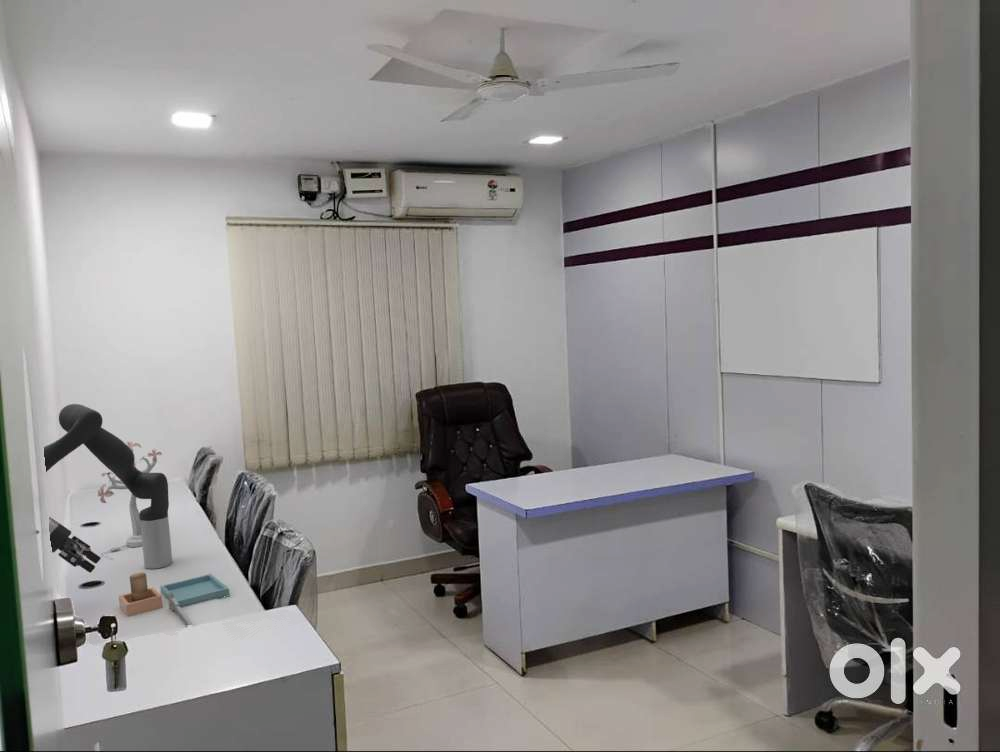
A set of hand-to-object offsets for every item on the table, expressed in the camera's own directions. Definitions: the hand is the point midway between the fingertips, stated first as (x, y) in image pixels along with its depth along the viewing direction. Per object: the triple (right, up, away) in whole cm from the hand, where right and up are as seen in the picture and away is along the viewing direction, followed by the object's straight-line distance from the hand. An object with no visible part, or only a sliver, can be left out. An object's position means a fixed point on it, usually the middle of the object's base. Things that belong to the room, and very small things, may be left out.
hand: (96, 565), depth 243 cm
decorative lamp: (-20, -9, +71) cm, 74 cm away
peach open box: (+11, -14, +5) cm, 19 cm away
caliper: (+28, -15, -6) cm, 32 cm away
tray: (+24, -13, +14) cm, 31 cm away
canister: (+11, -14, +5) cm, 18 cm away
